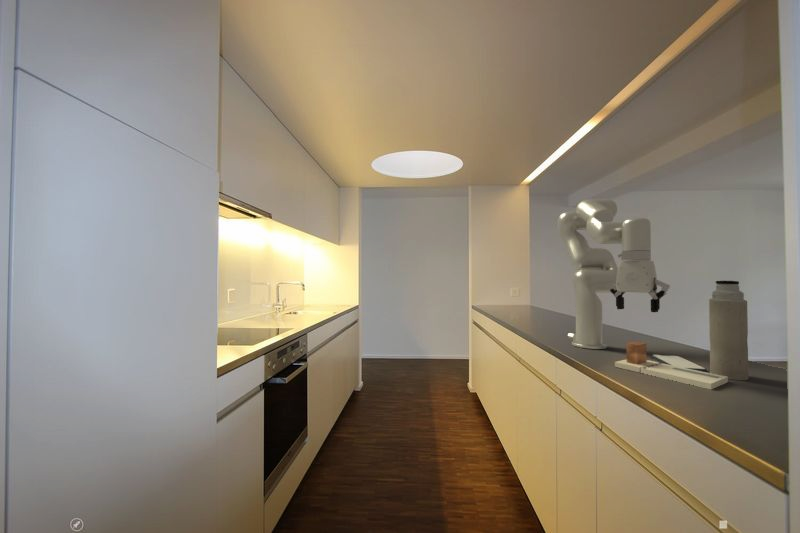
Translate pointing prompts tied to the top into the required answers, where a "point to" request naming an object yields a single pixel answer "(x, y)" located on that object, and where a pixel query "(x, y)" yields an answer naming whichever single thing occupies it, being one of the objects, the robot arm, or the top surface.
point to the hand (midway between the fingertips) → (636, 310)
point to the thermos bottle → (728, 331)
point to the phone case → (678, 362)
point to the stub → (635, 357)
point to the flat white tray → (685, 375)
